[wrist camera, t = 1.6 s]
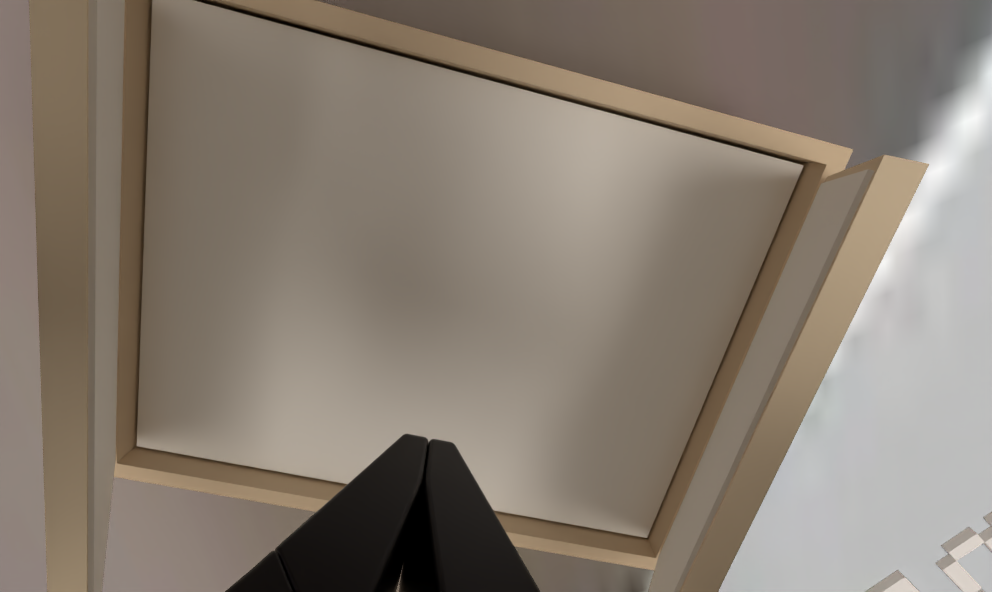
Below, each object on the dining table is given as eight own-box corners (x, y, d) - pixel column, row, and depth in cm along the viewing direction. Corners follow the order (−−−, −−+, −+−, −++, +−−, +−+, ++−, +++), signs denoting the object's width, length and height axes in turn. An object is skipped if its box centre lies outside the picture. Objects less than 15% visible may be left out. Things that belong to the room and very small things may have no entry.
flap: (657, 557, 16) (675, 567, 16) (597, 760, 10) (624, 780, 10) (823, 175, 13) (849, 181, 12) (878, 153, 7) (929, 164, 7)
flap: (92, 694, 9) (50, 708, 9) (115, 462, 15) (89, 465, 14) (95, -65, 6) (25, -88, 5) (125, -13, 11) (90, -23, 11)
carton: (618, 460, 23) (664, 571, 17) (203, 379, 21) (98, 474, 15) (739, 139, 18) (855, 145, 13) (232, 2, 17) (103, -65, 11)
